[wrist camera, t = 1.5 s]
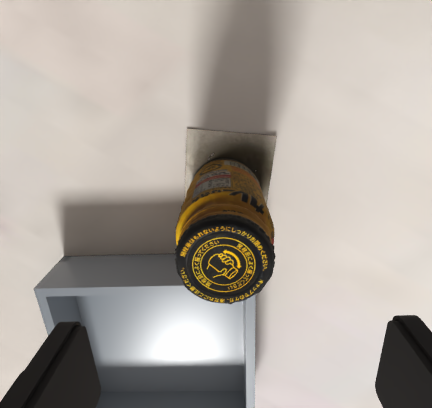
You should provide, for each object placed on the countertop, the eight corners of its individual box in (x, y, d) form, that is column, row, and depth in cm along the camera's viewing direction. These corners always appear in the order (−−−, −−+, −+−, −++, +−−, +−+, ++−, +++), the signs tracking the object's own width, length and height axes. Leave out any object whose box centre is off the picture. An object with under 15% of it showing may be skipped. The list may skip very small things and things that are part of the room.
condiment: (183, 222, 28) (157, 313, 17) (187, 128, 25) (157, 163, 14) (262, 228, 28) (289, 323, 17) (276, 135, 25) (319, 175, 14)
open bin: (63, 256, 29) (33, 288, 25) (250, 251, 29) (255, 283, 24) (97, 388, 36) (78, 434, 31) (250, 387, 35) (254, 433, 31)
